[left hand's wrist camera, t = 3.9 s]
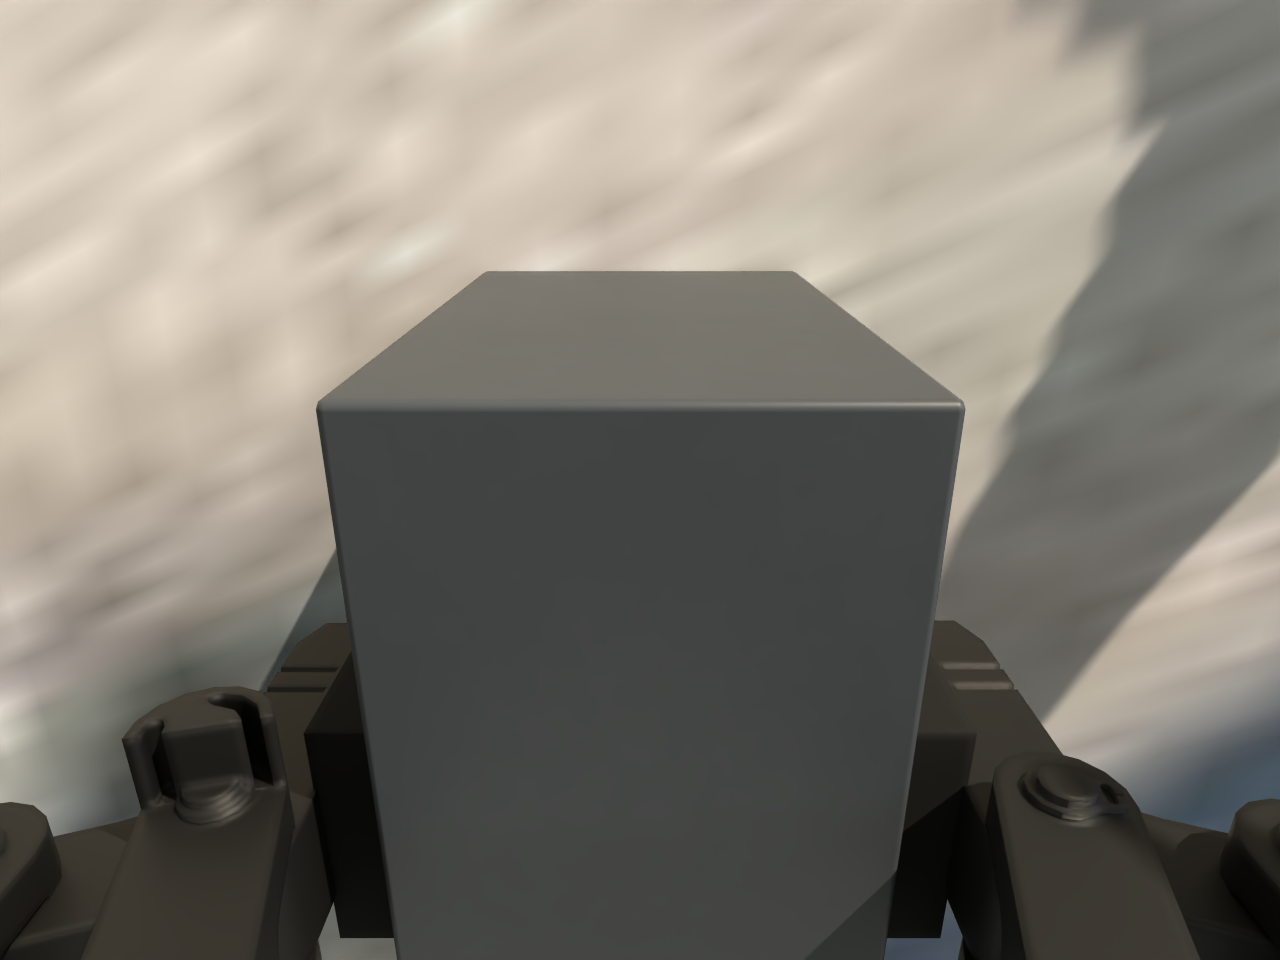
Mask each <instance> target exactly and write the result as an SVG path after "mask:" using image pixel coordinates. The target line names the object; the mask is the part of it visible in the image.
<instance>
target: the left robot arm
mask: <svg viewBox="0 0 1280 960" xmlns="http://www.w3.org/2000/svg"><path fill="white" fill-rule="evenodd" d="M1013 686H1014V684H1013V683H1012V682H1011V680H1010V679H1009V677H1008V676H1007V674H1006V673H1005V672H1004V670H1003V669H1000V664H999V663H998V662H997V660H996V659H995V657H994V656H993V654H992V653H991V652H990V650H989V649H988V647H987V646H986V644H985V643H984V642H983V641H982V640H981V639H979V638H978V637H977V636H975V635H974V634H972V633H971V632H969V631H968V630H967V629H965V628H964V627H962V626H961V625H959V624H958V623H957V622H955V621H934V624H933V631H932V637H931V644H930V651H929V658H928V664H927V671H926V678H925V685H924V691H923V698H922V705H921V712H920V718H919V725H918V732H917V739H916V745H915V752H914V759H913V766H912V772H911V779H910V786H909V792H908V799H907V806H906V813H905V819H904V826H903V833H902V840H901V846H900V853H899V860H898V867H897V873H896V880H895V887H894V894H893V900H892V907H891V914H890V921H889V927H888V934H887V938H940V936H941V931H942V925H943V920H944V914H945V909H946V903H947V899H948V901H949V904H950V906H951V909H952V911H953V913H954V916H955V918H956V921H957V923H958V926H959V928H960V931H961V933H962V935H963V936H962V942H961V947H960V952H959V957H958V960H1280V800H1278V799H1265V800H1258V801H1252V802H1248V803H1247V804H1245V805H1244V806H1243V807H1242V808H1241V809H1239V810H1238V811H1237V812H1236V813H1235V816H1234V819H1233V822H1232V825H1231V828H1230V831H1229V834H1228V833H1224V832H1219V831H1215V830H1210V829H1206V828H1201V827H1197V826H1192V825H1188V824H1184V823H1179V822H1175V821H1170V820H1166V819H1162V818H1158V817H1155V816H1152V815H1148V814H1145V813H1141V812H1140V809H1139V807H1138V806H1137V804H1136V803H1135V801H1134V800H1133V798H1132V797H1131V795H1130V794H1129V793H1128V791H1127V790H1126V789H1125V788H1124V787H1123V786H1122V785H1120V784H1119V783H1118V782H1117V781H1115V780H1114V779H1113V778H1112V777H1110V776H1109V775H1108V774H1107V773H1105V772H1104V771H1102V770H1100V769H1097V768H1095V767H1093V766H1091V765H1089V764H1087V763H1085V762H1083V761H1081V760H1079V759H1076V758H1072V757H1068V756H1064V755H1063V754H1062V753H1061V751H1060V750H1059V749H1058V747H1057V746H1056V744H1055V743H1054V741H1053V740H1052V739H1051V737H1050V736H1049V734H1048V733H1047V731H1046V730H1045V729H1044V727H1043V726H1042V724H1041V723H1040V721H1039V720H1038V719H1037V717H1036V716H1035V714H1034V713H1033V711H1032V710H1031V709H1030V707H1029V706H1028V704H1027V703H1026V701H1025V700H1024V699H1023V697H1022V696H1021V694H1020V693H1019V691H1018V690H1014V687H1013ZM122 742H123V745H124V749H125V753H126V756H127V760H128V763H129V767H130V771H131V774H132V778H133V781H134V785H135V789H136V792H137V796H138V799H139V803H140V807H141V811H140V813H139V816H138V817H134V818H131V819H127V820H124V821H121V822H117V823H113V824H108V825H104V826H99V827H95V828H90V829H86V830H81V831H77V832H72V833H68V834H64V835H59V836H55V837H53V835H52V832H51V829H50V826H49V823H48V820H47V817H46V816H45V815H44V814H43V813H42V812H41V811H39V810H38V809H37V808H36V807H35V806H33V805H27V804H20V803H14V802H7V803H0V960H322V958H321V952H320V947H319V942H318V939H319V936H320V934H321V931H322V929H323V926H324V924H325V921H326V919H327V916H328V914H329V912H330V909H331V907H332V904H333V902H334V906H335V911H336V917H337V922H338V928H339V933H340V938H394V934H393V927H392V920H391V914H390V907H389V900H388V893H387V886H386V880H385V873H384V866H383V859H382V853H381V846H380V839H379V832H378V826H377V819H376V812H375V805H374V798H373V792H372V785H371V778H370V771H369V765H368V758H367V751H366V744H365V738H364V731H363V724H362V717H361V710H360V704H359V697H358V690H357V683H356V677H355V670H354V663H353V656H352V650H351V643H350V636H349V629H348V623H327V624H325V625H324V626H322V627H321V628H319V629H318V630H317V631H315V632H314V633H312V634H311V635H309V636H308V637H307V638H305V639H304V640H302V641H301V642H299V643H298V644H297V646H296V647H295V648H294V650H293V651H292V653H291V654H290V656H289V657H288V658H287V660H286V661H285V663H284V664H283V666H282V667H281V672H278V673H277V674H276V676H275V677H274V679H273V680H272V681H271V683H270V684H269V686H268V690H267V692H264V693H263V694H262V693H261V692H260V691H256V690H252V689H248V688H244V687H213V688H209V689H205V690H201V691H196V692H192V693H188V694H184V695H182V696H180V697H178V698H175V699H173V700H171V701H168V702H166V703H164V704H161V705H159V706H157V707H156V708H154V709H153V710H152V711H150V712H149V713H147V714H146V715H144V716H143V717H142V718H140V719H139V720H137V721H136V722H135V723H134V724H133V726H132V727H131V728H130V729H129V731H128V732H127V733H126V734H125V736H124V737H123V738H122Z"/></svg>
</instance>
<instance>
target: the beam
mask: <svg viewBox="0 0 1280 960" xmlns="http://www.w3.org/2000/svg"><path fill="white" fill-rule="evenodd" d="M316 413H317V419H318V426H319V433H320V440H321V446H322V453H323V460H324V467H325V474H326V480H327V487H328V494H329V501H330V507H331V514H332V521H333V528H334V534H335V541H336V548H337V555H338V562H339V568H340V575H341V582H342V589H343V595H344V602H345V609H346V616H347V622H348V629H349V636H350V643H351V650H352V656H353V663H354V670H355V677H356V683H357V690H358V697H359V704H360V710H361V717H362V724H363V731H364V738H365V744H366V751H367V758H368V765H369V771H370V778H371V785H372V792H373V798H374V805H375V812H376V819H377V826H378V832H379V839H380V846H381V853H382V859H383V866H384V873H385V880H386V886H387V893H388V900H389V907H390V914H391V920H392V927H393V934H394V941H395V947H396V954H397V960H884V954H885V947H886V941H887V934H888V927H889V921H890V914H891V907H892V900H893V894H894V887H895V880H896V873H897V867H898V860H899V853H900V846H901V840H902V833H903V826H904V819H905V813H906V806H907V799H908V792H909V786H910V779H911V772H912V766H913V759H914V752H915V745H916V739H917V732H918V725H919V718H920V712H921V705H922V698H923V691H924V685H925V678H926V671H927V664H928V658H929V651H930V644H931V637H932V631H933V624H934V617H935V610H936V604H937V597H938V590H939V584H940V577H941V570H942V563H943V557H944V550H945V543H946V536H947V530H948V523H949V516H950V509H951V503H952V496H953V489H954V482H955V476H956V469H957V462H958V455H959V449H960V442H961V435H962V428H963V422H964V415H965V406H964V403H963V401H962V400H960V399H959V398H958V397H957V396H955V395H954V394H953V393H951V392H950V391H949V390H947V389H946V388H945V387H944V386H942V385H941V384H940V383H938V382H937V381H936V380H934V379H933V378H932V377H931V376H929V375H928V374H927V373H925V372H924V371H923V370H921V369H920V368H919V367H918V366H916V365H915V364H914V363H912V362H911V361H910V360H909V359H907V358H906V357H905V356H903V355H902V354H901V353H899V352H898V351H897V350H896V349H894V348H893V347H892V346H890V345H889V344H888V343H886V342H885V341H884V340H883V339H881V338H880V337H879V336H877V335H876V334H875V333H873V332H872V331H871V330H870V329H868V328H867V327H866V326H864V325H863V324H862V323H860V322H859V321H858V320H857V319H855V318H854V317H853V316H851V315H850V314H849V313H847V312H846V311H845V310H844V309H842V308H841V307H840V306H838V305H837V304H836V303H834V302H833V301H832V300H831V299H829V298H828V297H827V296H825V295H824V294H823V293H821V292H820V291H819V290H818V289H816V288H815V287H814V286H812V285H811V284H810V283H809V282H807V281H806V280H805V279H803V278H802V277H801V276H799V275H798V274H797V273H795V272H793V271H488V272H485V273H483V274H482V275H481V276H480V277H478V278H477V279H476V280H474V281H473V282H472V283H471V284H469V285H468V286H467V287H465V288H464V289H463V290H462V291H460V292H459V293H458V294H456V295H455V296H454V297H453V298H451V299H450V300H449V301H447V302H446V303H445V304H443V305H442V306H441V307H440V308H438V309H437V310H436V311H434V312H433V313H432V314H431V315H429V316H428V317H427V318H425V319H424V320H423V321H422V322H420V323H419V324H418V325H416V326H415V327H414V328H413V329H411V330H410V331H409V332H407V333H406V334H405V335H404V336H402V337H401V338H400V339H398V340H397V341H396V342H395V343H393V344H392V345H391V346H389V347H388V348H387V349H385V350H384V351H383V352H382V353H380V354H379V355H378V356H376V357H375V358H374V359H373V360H371V361H370V362H369V363H367V364H366V365H365V366H364V367H362V368H361V369H360V370H358V371H357V372H356V373H355V374H353V375H352V376H351V377H349V378H348V379H347V380H346V381H344V382H343V383H342V384H340V385H339V386H338V387H336V388H335V389H334V390H333V391H331V392H330V393H329V394H327V395H326V396H325V397H324V398H322V399H321V400H320V401H318V404H317V408H316Z"/></svg>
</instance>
